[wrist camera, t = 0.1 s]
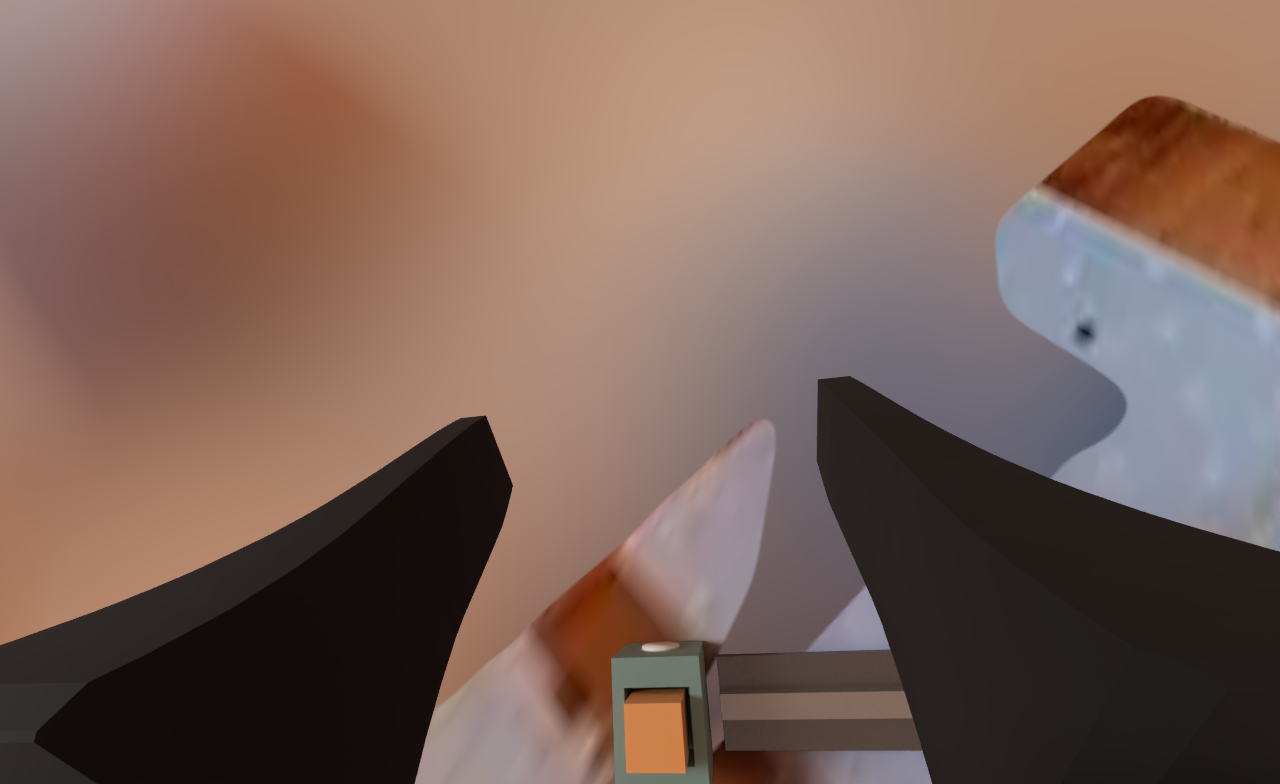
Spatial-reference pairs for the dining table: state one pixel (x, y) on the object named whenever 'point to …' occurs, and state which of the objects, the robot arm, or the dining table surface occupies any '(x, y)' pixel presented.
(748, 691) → the rail
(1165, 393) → the dining table surface
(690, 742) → the cabinet
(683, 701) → the button
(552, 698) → the dining table surface
